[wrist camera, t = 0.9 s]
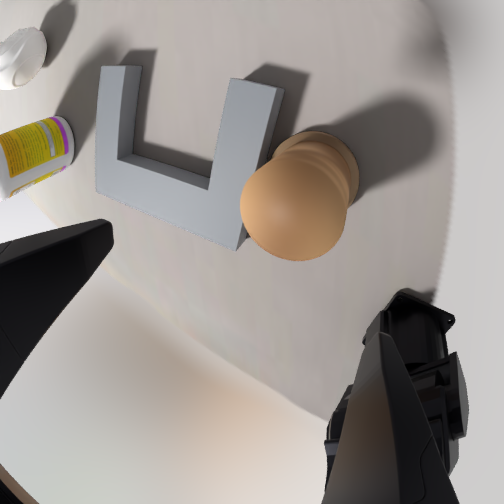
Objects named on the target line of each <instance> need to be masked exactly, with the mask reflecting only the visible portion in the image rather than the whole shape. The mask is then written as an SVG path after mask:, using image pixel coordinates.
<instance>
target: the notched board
mask: <svg viewBox="0 0 504 504" xmlns="http://www.w3.org/2000/svg"><path fill="white" fill-rule="evenodd" d="M141 72H142V66H133V65H110V66H101V73H100V81H99V90H98V101H97V115H96V136H95V182H96V192H97V193H99V194H102V195H104V196H106V197H109V198H111V199H113V200H116V201H118V202H120V203H122V204H125V205H127V206H129V207H132V208H134V209H136V210H139V211H141V212H143V213H146V214H148V215H150V216H153V217H155V218H157V219H160V220H162V221H164V222H167V223H169V224H172V225H174V226H176V227H179V228H181V229H183V230H186V231H188V232H190V233H193V234H195V235H197V236H200V237H202V238H204V239H207V240H209V241H211V242H214V243H216V244H219V245H221V246H223V247H226V248H228V249H230V250H233V251H235V252H236V251H237V249H238V248H239V247H240V246H241V244H242V243H243V242H244V241H245V239H246V236H247V230H246V228H245V226H244V223H243V221H242V217H241V212H240V199H241V194H242V190H243V188H244V186H245V184H246V182H247V180H248V179H249V178H250V177H251V175H252V174H253V173H254V172H256V171H257V170H258V169H259V168H261V167H262V166H263V165H265V163H266V159H267V155H268V151H269V148H270V144H271V140H272V136H273V133H274V129H275V125H276V121H277V118H278V114H279V110H280V106H281V103H282V99H283V95H284V92H285V89H282V88H278V87H275V86H271V85H267V84H262V83H258V82H254V81H249V80H244V79H236V78H230V82H229V86H228V91H227V95H226V100H225V104H224V109H223V114H222V119H221V123H220V128H219V133H218V139H217V144H216V149H215V154H214V160H213V165H212V171H211V176H210V178H207V177H204V176H201V175H198V174H195V173H192V172H189V171H186V170H183V169H180V168H177V167H174V166H171V165H168V164H165V163H161V162H158V161H155V160H152V159H149V158H145V157H142V156H139V155H135V154H133V140H134V128H135V118H136V108H137V100H138V92H139V85H140V78H141Z"/></svg>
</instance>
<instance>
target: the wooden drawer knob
mask: <svg viewBox="0 0 504 504" xmlns="http://www.w3.org/2000/svg"><path fill="white" fill-rule="evenodd" d="M358 187H359V168H358V164H357V161H356V159H355V157H354V155H353V153H352V152H351V150H350V149H349V148H348V147H347V146H346V145H345V143H343V142H342V141H341V140H340V139H338V138H336V137H335V136H333V135H330V134H328V133H324V132H319V131H306V132H302V133H298V134H296V135H294V136H292V137H290V138H288V139H287V140H285V141H284V142H283V143H281V144H280V145H279V146H278V148H277V149H276V150H275V152H274V153H273V155H272V157H271V160H270V161H269V162H268V163H266V164H265V165H263V166H262V167H261V168H259V169H258V170H257V171H256V172H254V173H253V174H252V175H251V177H250V178H249V179H248V180H247V182H246V184H245V186H244V188H243V190H242V194H241V199H240V212H241V217H242V221H243V223H244V226H245V228H246V230H247V232H248V233H249V235H250V236H251V238H252V239H253V240H254V241H255V242H256V243H257V244H258V245H259V246H260V247H261V248H263V249H264V250H265V251H267V252H269V253H270V254H272V255H274V256H276V257H279V258H282V259H286V260H292V261H305V260H311V259H314V258H317V257H320V256H321V255H323V254H325V253H327V252H328V251H329V250H330V249H331V248H332V247H334V246H335V244H336V243H337V242H338V240H339V238H340V237H341V235H342V232H343V229H344V225H345V220H346V214H347V209H348V208H349V206H350V205H351V204H352V202H353V201H354V199H355V197H356V194H357V191H358Z"/></svg>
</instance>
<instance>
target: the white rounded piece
mask: <svg viewBox="0 0 504 504" xmlns="http://www.w3.org/2000/svg"><path fill="white" fill-rule="evenodd" d="M46 51H47V43H46V39H45V36H44V34H43V32H42V31H39V30H38V29H37V28H35V27H29V28H24V29H19V30H18V31H16V32H15V33H13V34H12V35H11V36H9V37H8V38H7V39H6V40H5V41H4V42H0V89H2V90H10V89H15V88H18V87H21V86H23V85H25V84H27V83H28V82H29V81H31V80H32V79H33V78H34V77H35V76H36V74H37V73H38V72H39V71H40V69H41V67H42V65H43V63H44V60H45V56H46Z"/></svg>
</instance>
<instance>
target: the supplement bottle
mask: <svg viewBox="0 0 504 504" xmlns="http://www.w3.org/2000/svg"><path fill="white" fill-rule="evenodd" d="M73 155H74V138H73V134H72V131H71V128H70V126H69V124H68V123H67V121H66V120H65V119H63V118H62V117H59V116H53V117H50V118H47V119H43V120H40V121H37V122H34V123H31V124H28V125H25V126H22V127H20V128H17V129H14V130H12V131H9V132H6V133H4V134H1V135H0V202H1V201H4V200H6V199H8V198H10V197H11V196H13V195H15V194H17V193H19V192H20V191H22V190H24V189H26V188H28V187H30V186H32V185H34V184H36V183H38V182H40V181H42V180H44V179H46V178H48V177H50V176H52V175H55V174H57V173H59V172H61V171H63V170H65V169H66V168H68V166H69V165H70V164H71V162H72V159H73Z"/></svg>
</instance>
